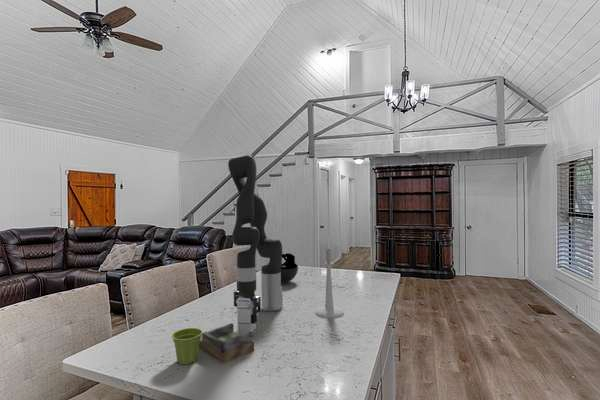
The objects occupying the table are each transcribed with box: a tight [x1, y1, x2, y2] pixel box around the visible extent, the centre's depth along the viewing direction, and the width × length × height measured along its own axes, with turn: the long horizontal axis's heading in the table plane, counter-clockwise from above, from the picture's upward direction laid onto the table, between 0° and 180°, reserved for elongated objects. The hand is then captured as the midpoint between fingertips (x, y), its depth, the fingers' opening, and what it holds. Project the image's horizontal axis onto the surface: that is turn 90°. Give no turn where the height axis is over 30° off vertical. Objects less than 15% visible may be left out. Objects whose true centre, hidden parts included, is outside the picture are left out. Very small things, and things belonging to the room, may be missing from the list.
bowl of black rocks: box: [281, 253, 299, 284], centre depth 200 cm, size 20×20×19 cm
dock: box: [198, 322, 255, 364], centre depth 111 cm, size 12×20×6 cm, turn 47°
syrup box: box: [236, 294, 258, 336], centre depth 123 cm, size 6×6×14 cm
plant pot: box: [171, 327, 203, 365], centre depth 102 cm, size 9×9×9 cm
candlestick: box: [314, 247, 344, 319], centre depth 144 cm, size 13×13×30 cm
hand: (247, 320), depth 123 cm, fingers closed on syrup box, 7 cm apart
